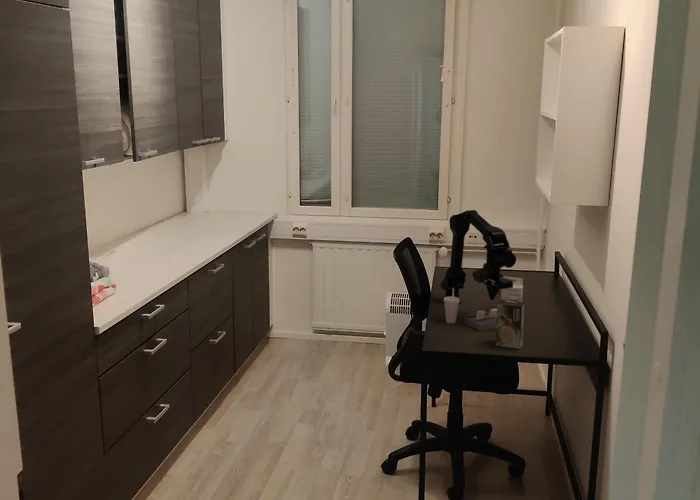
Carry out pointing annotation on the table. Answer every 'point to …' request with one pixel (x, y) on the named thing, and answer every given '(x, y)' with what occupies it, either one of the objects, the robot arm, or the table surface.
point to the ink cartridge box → (513, 290)
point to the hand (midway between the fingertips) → (491, 299)
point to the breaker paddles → (481, 314)
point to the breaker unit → (481, 322)
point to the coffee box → (510, 323)
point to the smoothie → (451, 308)
